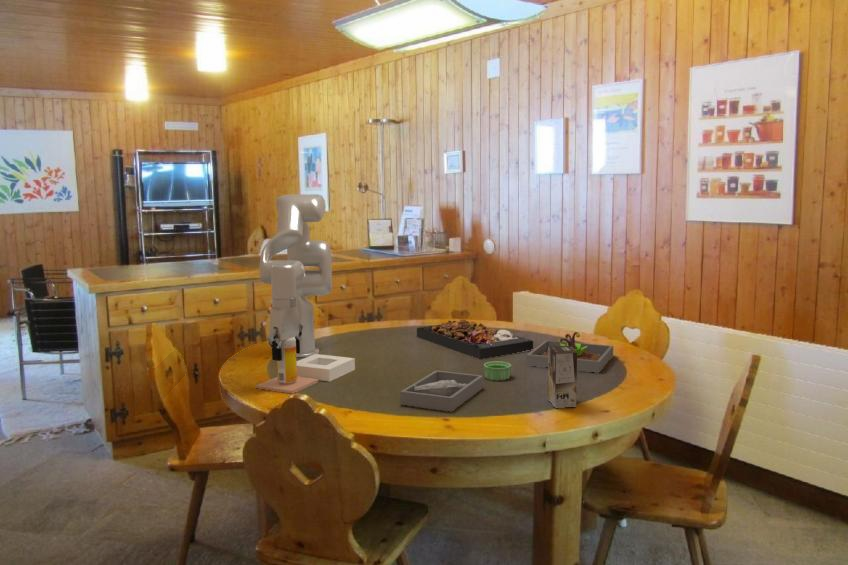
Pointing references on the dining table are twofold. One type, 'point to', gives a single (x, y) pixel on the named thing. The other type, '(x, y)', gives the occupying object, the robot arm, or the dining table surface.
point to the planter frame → (582, 365)
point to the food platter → (474, 339)
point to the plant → (577, 348)
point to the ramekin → (497, 370)
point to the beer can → (287, 362)
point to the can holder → (324, 367)
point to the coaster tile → (287, 385)
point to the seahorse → (440, 388)
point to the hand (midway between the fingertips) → (286, 356)
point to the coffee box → (562, 376)
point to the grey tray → (440, 401)
